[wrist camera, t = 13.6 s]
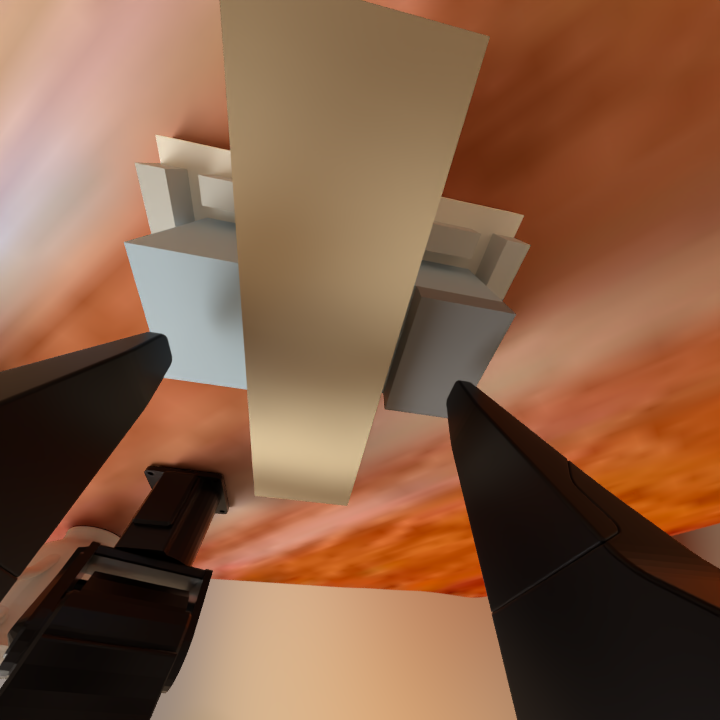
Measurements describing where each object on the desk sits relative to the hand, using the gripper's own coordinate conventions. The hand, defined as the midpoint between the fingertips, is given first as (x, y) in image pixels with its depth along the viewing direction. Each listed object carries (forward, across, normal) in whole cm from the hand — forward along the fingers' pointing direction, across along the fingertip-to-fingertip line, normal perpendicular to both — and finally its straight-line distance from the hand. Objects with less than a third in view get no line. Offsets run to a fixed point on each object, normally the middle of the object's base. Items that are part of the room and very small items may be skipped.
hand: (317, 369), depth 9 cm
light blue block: (+6, 0, 0) cm, 6 cm away
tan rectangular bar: (+2, 0, 0) cm, 2 cm away
